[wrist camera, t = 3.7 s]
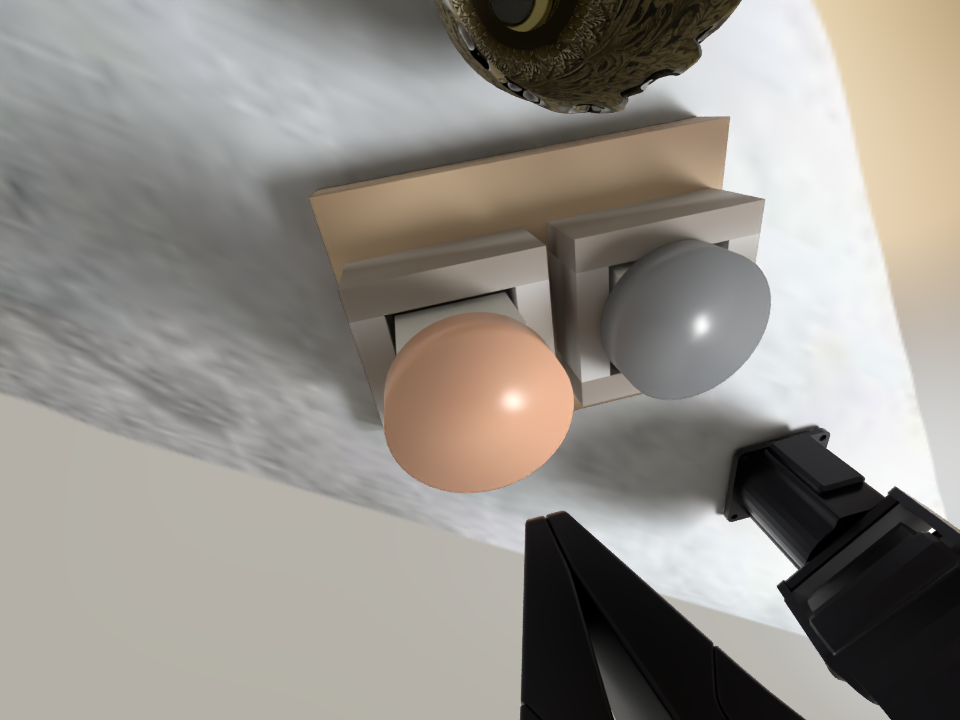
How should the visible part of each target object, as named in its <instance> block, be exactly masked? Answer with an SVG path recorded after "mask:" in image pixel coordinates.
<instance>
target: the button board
mask: <svg viewBox="0 0 960 720" xmlns="http://www.w3.org/2000/svg"><path fill="white" fill-rule="evenodd" d="M729 121H730V117H695V118H689V119H684V120H679V121H674V122H669V123H663V124H658V125H653V126H648V127H643V128H637V129H632V130H627V131H622V132H617V133H611V134H606V135H601V136H596V137H591V138H586V139H580V140H575V141H570V142H565V143H560V144H554V145H549V146H544V147H539V148H534V149H528V150H523V151H518V152H513V153H508V154H502V155H497V156H492V157H487V158H482V159H476V160H471V161H466V162H461V163H456V164H450V165H445V166H440V167H435V168H430V169H424V170H419V171H414V172H409V173H404V174H398V175H393V176H388V177H383V178H378V179H373V180H367V181H362V182H357V183H352V184H347V185H341V186H336V187H331V188H326V189H321V190H316V191H315V192H314V193H313V194H312V195H311V196H310V198H309V200H310V203H311V206H312V209H313V212H314V215H315V218H316V221H317V224H318V227H319V230H320V233H321V236H322V239H323V242H324V245H325V248H326V251H327V254H328V257H329V260H330V263H331V266H332V269H333V272H334V275H335V278H336V281H337V284H338V289H337V290H338V293H339V296H340V299H341V302H342V305H343V308H344V311H345V314H346V317H347V320H348V323H349V326H350V329H351V332H352V335H353V338H354V341H355V344H356V347H357V350H358V353H359V356H360V359H361V362H362V365H363V368H364V371H365V374H366V377H367V380H368V383H369V386H370V388H371V391H372V394H373V397H374V400H375V403H376V406H377V409H378V412H379V415H380V418H381V421H382V424H383V427H384V390H385V382H386V378H387V374H388V371H389V369H390V366H391V364H392V362H393V361H394V359H395V357H396V355H397V354H396V333H395V316H397V315H402V314H406V313H411V312H415V311H420V310H424V309H429V308H434V307H438V306H443V305H447V304H452V303H456V302H461V301H465V300H470V299H475V298H479V297H484V296H488V295H493V294H497V293H502V292H505V293H506V294H507V296H508V297H509V298H510V300H511V301H512V303H513V304H514V306H515V307H516V309H517V310H518V312H519V313H520V314H521V316H522V317H523V319H524V320H525V322H526V323H527V326H529V327H530V328H532V329H533V330H534V331H535V332H536V333H537V334H538V335H539V336H540V337H541V338H542V339H543V340H544V341H545V343H546V344H547V346H548V347H549V348H550V350H551V351H552V353H553V354H554V355H555V357H556V358H557V360H558V361H559V362H560V364H561V365H562V367H563V368H564V369H565V371H566V373H567V375H568V377H569V379H570V383H571V386H572V389H573V396H574V410H578V409H582V408H586V407H590V406H594V405H598V404H602V403H606V402H610V401H614V400H618V399H623V398H627V397H631V396H635V395H639V394H643V393H642V392H640V391H639V390H637V389H636V388H635V387H634V386H633V385H632V384H631V383H630V382H629V381H628V380H627V379H626V378H625V377H624V375H623V374H622V373H621V372H620V371H619V370H618V369H617V368H616V367H615V366H614V365H613V364H612V362H611V361H610V360H609V358H608V357H607V355H606V353H605V350H604V348H603V344H602V340H601V320H602V315H603V311H604V308H605V304H606V302H607V300H608V297H609V266H613V265H618V264H622V263H627V262H631V261H636V260H639V259H640V258H642V257H643V256H645V255H646V254H648V253H649V252H651V251H653V250H655V249H656V248H659V247H661V246H664V245H666V244H669V243H673V242H677V241H683V240H699V241H705V242H708V243H711V244H714V245H717V246H719V247H722V248H724V249H727V250H730V251H732V252H735V253H737V254H740V255H743V256H744V257H746V258H748V259H750V260H751V261H753V262H754V263H755V262H756V256H757V249H758V243H759V236H760V230H761V224H762V217H763V211H764V204H765V199H762V198H757V197H753V196H748V195H743V194H738V193H734V192H729V191H724V190H722V186H723V176H724V167H725V158H726V149H727V140H728V130H729ZM574 410H573V411H574Z"/></svg>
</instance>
